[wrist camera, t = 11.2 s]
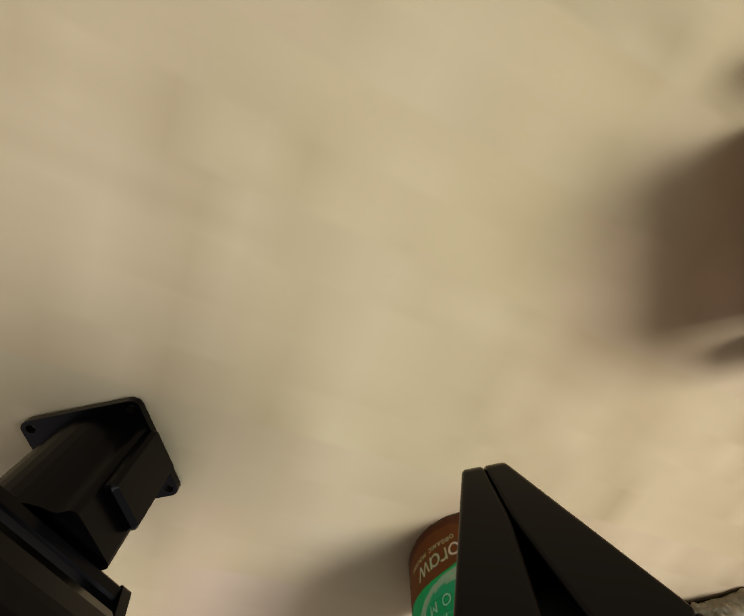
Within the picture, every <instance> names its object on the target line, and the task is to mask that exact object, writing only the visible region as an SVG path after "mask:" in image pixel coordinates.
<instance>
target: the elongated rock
mask: <svg viewBox="0 0 744 616" xmlns="http://www.w3.org/2000/svg"><path fill="white" fill-rule="evenodd" d="M691 606H692V607H693V608H694V610H695V613H701V614H703V615H704V616H744V588H740V589H739V590H737V591H735V592H732V593H729V594H727V595H726V596H724V597H721V598H714V599H711V600H709V601H705V602H700V603H698V604H697V603H696V602H692V603H691Z"/></svg>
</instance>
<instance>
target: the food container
mask: <svg viewBox="0 0 744 616" xmlns="http://www.w3.org/2000/svg"><path fill="white" fill-rule="evenodd" d="M459 515H460V512H459V513H456V514H453V515H450V516H447V517H445V518H443V519H441V520H440V521H438V522H436V523H435V524H433V525H431V526H430V527H429V528H428V529H427V530H426V531H424V532H423V534H422V535H421V536H420V537H419V538H418V539H417V541H416V543H415V544H414V546H413V548H412V551H411V554H410V559H409V574H410V589H411V604H412V616H453V611H454V595H455V579H456V563H457V547H458V531H459Z"/></svg>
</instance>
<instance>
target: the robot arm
mask: <svg viewBox="0 0 744 616" xmlns="http://www.w3.org/2000/svg"><path fill="white" fill-rule="evenodd" d="M130 405H132V406H134V407H135V408H136V409H133V408H132V407H131V406H130ZM33 426H34V427H35V428H34V427H33ZM21 431H22V432H23V434H24V436H25V437H26V439H27V441H28V442H29V444H30V446H31V447H32V449H33V450H32V451H31V452H30V453H28V454H27V455H26V456H25V457H24V458H23V459H22V460H20V461H19V462H18V463H17V464H16V465H15V466H14V467H12V468H11V469H10V470H9V471H8V472H7V473H6V474H4V475H3V476H2V477H1V478H0V616H125V615H126V611H127V607H128V604H129V600H130V596H131V592H130V591H129V590H128V589H127V588H125V587H124V586H123V585H122V586H119V585H118V584H117V583H115V582H114V581H113V580H112V579H111V578H109V577H108V576H107V575H106V574H105V573H104V572H102V571H101V570H105V569H107V568H108V566H109V564H110V563H111V561H112V559H113V558H114V556H115V555H116V553H117V551H118V550H119V548H120V546H121V545H122V543H123V542H124V540H125V538H126V537H127V535H128V533H129V532H130V530H136V528H137V527H138V526H139V524H140V523H141V521H142V519H143V518H144V516H145V514H146V513H147V511H148V509H149V508H150V506H151V504H152V503H153V501H154V499H155V498H161V497H166V496H171V495H174V494H176V493H177V491H178V489H179V487H180V485H181V484H180V481H179V478H178V476H177V474H176V472H175V470H174V468H173V467H174V466H173V464H172V461H171V459H170V457H169V455H168V453H167V451H166V448H165V446H164V444H163V442H162V440H161V438H160V435H159V433H158V432H157V431H156V428H155V426H154V424H153V422H152V420H151V418H150V415H149V413H148V411H147V409H146V407H145V405H144V403H143V401H142V400H141V399H139V398H136V397H129V398H124V399H119V400H114V401H109V402H104V403H99V404H95V405H90V406H85V407H80V408H75V409H70V410H65V411H60V412H55V413H50V414H45V415H40V416H35V417H31V418H29V419H27V420H26V421H25V422H23V423H22V425H21ZM169 485H170V486H172V487H170V486H169ZM453 616H704V615H703V614H701V613H695V610H694V608H693V607H692V606H691V605H689V604H688V603H687V602H686V601H684V600H683V599H682V598H680V597H679V596H678V595H676V594H675V593H674V592H673V591H671V590H670V589H669V588H667V587H666V586H665V585H663V584H662V583H661V582H659V581H658V580H657V579H656V578H654V577H653V576H652V575H650V574H649V573H648V572H646V571H645V570H644V569H643V568H641V567H640V566H639V565H637V564H636V563H635V562H633V561H632V560H631V559H630V558H628V557H627V556H626V555H624V554H623V553H622V552H620V551H619V550H618V549H617V548H615V547H614V546H613V545H611V544H610V543H609V542H607V541H606V540H605V539H603V538H602V537H601V536H600V535H598V534H597V533H596V532H594V531H593V530H592V529H590V528H589V527H588V526H587V525H585V524H584V523H583V522H581V521H580V520H579V519H577V518H576V517H575V516H574V515H572V514H571V513H570V512H568V511H567V510H566V509H564V508H563V507H562V506H561V505H559V504H558V503H557V502H555V501H554V500H553V499H551V498H550V497H549V496H547V495H546V494H545V493H544V492H542V491H541V490H540V489H538V488H537V487H536V486H534V485H533V484H532V483H531V482H529V481H528V480H527V479H525V478H524V477H523V476H521V475H520V474H519V473H518V472H516V471H515V470H514V469H512V468H511V467H510V466H508V465H507V464H505V463H498V464H493V465H488V466H486V467H485V468H484V469H483V468H481V467H477V468H472V469H467V470H464V471H463V472H462V483H461V499H460V515H459V531H458V547H457V563H456V579H455V595H454V611H453Z"/></svg>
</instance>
